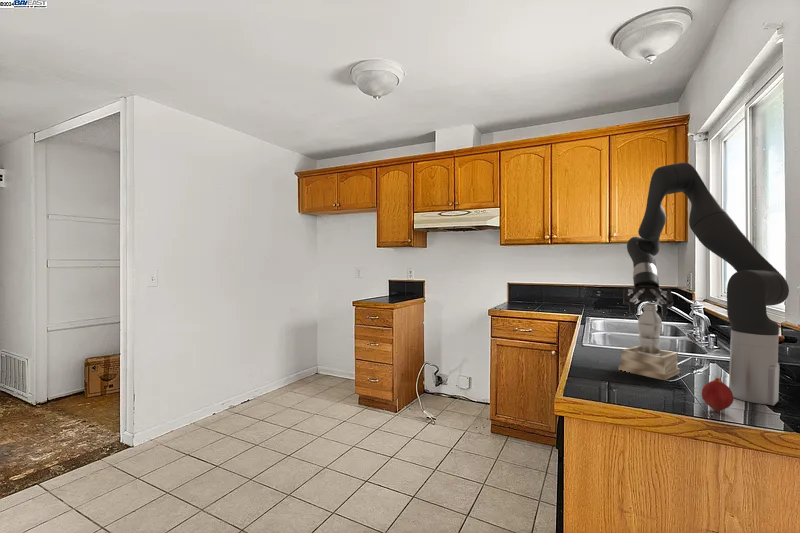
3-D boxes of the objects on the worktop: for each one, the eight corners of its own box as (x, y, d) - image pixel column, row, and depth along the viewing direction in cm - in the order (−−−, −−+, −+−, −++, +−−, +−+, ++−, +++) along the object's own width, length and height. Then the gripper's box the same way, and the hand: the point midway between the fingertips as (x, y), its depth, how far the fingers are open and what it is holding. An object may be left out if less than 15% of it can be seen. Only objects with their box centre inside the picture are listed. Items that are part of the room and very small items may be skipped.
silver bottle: (646, 363, 131) (648, 302, 131) (665, 368, 125) (667, 305, 124) (631, 364, 129) (633, 303, 129) (650, 370, 123) (652, 305, 122)
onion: (696, 405, 96) (697, 372, 96) (725, 408, 95) (726, 375, 95) (707, 414, 91) (708, 379, 91) (737, 417, 89) (739, 382, 89)
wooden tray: (679, 373, 125) (680, 352, 125) (664, 380, 117) (665, 358, 117) (635, 364, 136) (635, 345, 135) (618, 370, 127) (619, 350, 127)
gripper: (623, 270, 141) (624, 305, 131) (671, 271, 134) (676, 308, 124) (621, 284, 146) (622, 319, 135) (668, 286, 139) (672, 323, 129)
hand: (648, 314), depth 130 cm, fingers open, 8 cm apart
